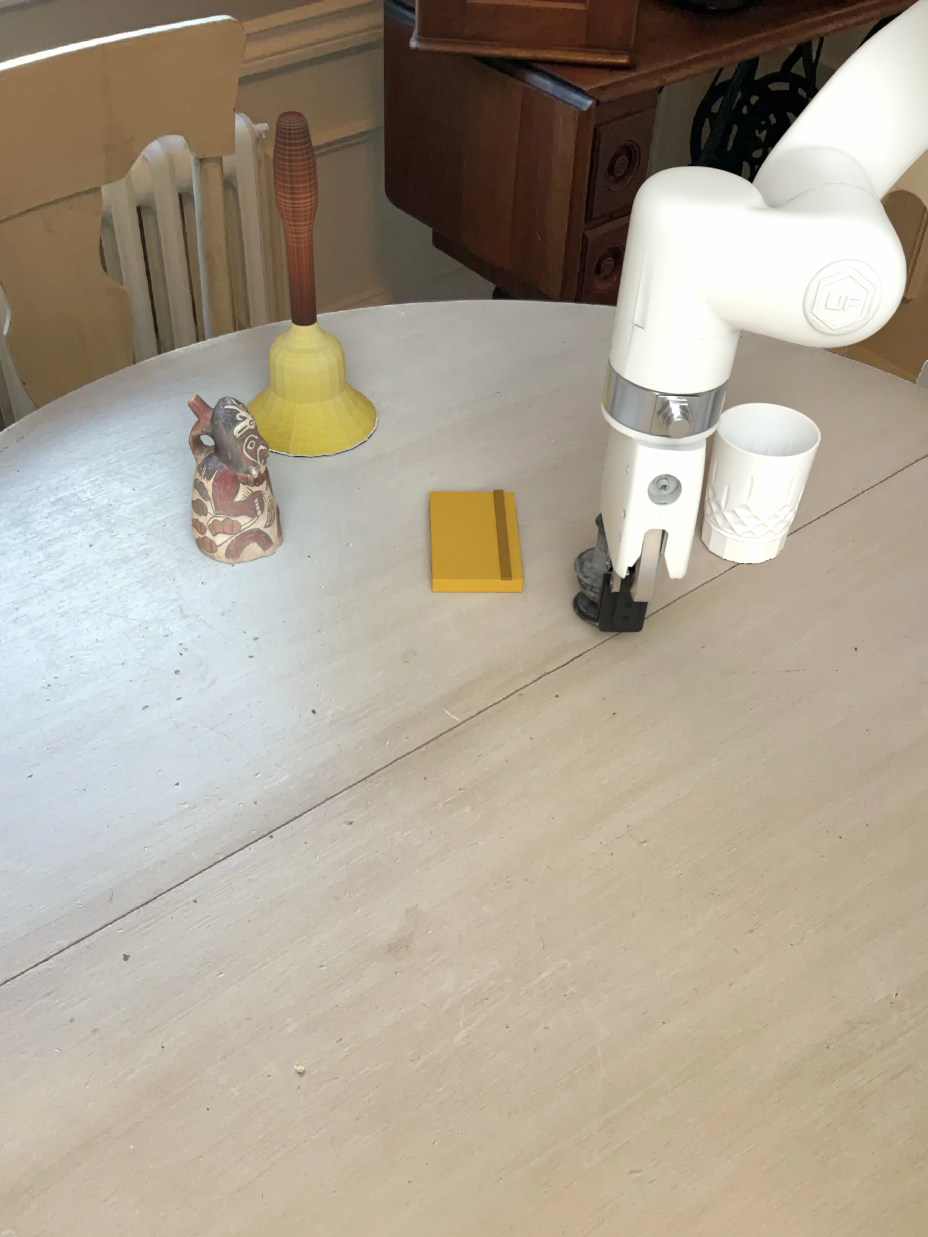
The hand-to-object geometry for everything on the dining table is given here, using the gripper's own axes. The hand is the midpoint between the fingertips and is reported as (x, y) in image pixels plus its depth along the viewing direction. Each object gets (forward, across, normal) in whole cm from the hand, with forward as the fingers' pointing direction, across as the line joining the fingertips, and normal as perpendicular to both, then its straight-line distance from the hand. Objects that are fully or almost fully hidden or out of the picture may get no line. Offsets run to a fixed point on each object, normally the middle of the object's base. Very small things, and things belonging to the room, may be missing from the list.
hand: (618, 624), depth 92 cm
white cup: (+2, +13, -12) cm, 18 cm away
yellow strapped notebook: (+2, +13, +10) cm, 16 cm away
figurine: (+3, +14, +29) cm, 32 cm away
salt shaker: (+2, +5, 0) cm, 5 cm away
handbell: (+3, +32, +23) cm, 40 cm away
